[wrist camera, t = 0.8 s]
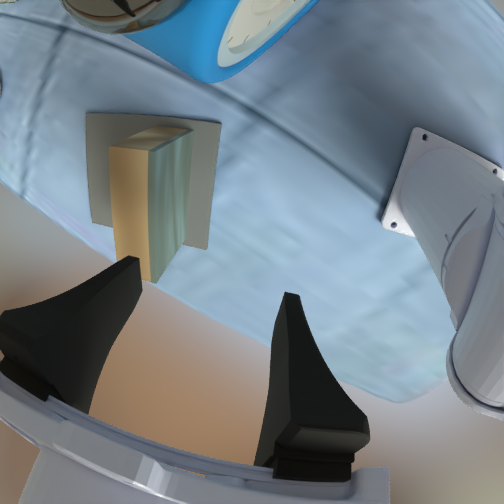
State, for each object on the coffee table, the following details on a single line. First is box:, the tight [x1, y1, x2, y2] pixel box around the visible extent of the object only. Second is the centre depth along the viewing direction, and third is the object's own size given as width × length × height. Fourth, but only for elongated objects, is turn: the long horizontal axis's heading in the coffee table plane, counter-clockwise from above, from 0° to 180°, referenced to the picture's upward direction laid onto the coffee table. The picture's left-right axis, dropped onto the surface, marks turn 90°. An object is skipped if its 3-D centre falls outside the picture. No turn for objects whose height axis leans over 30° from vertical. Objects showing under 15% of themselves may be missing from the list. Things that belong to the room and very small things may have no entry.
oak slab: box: [109, 126, 194, 283], centre depth 19 cm, size 3×9×6 cm, turn 171°
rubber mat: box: [86, 113, 222, 250], centre depth 22 cm, size 12×10×1 cm
